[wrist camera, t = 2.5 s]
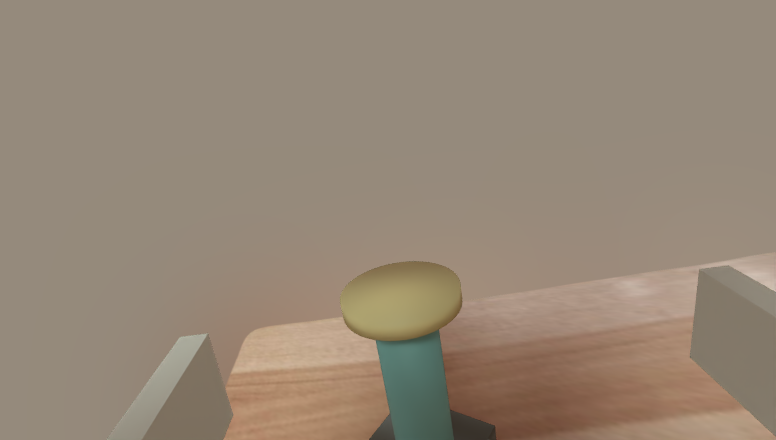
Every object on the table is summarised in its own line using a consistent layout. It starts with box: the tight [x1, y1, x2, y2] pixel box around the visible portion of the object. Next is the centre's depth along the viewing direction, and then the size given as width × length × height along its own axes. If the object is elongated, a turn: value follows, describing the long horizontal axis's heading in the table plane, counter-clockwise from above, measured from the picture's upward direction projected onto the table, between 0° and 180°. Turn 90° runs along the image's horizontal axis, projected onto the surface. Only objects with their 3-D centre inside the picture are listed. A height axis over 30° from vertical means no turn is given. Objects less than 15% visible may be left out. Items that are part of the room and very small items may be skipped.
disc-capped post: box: [340, 261, 462, 440], centre depth 33 cm, size 8×8×20 cm
